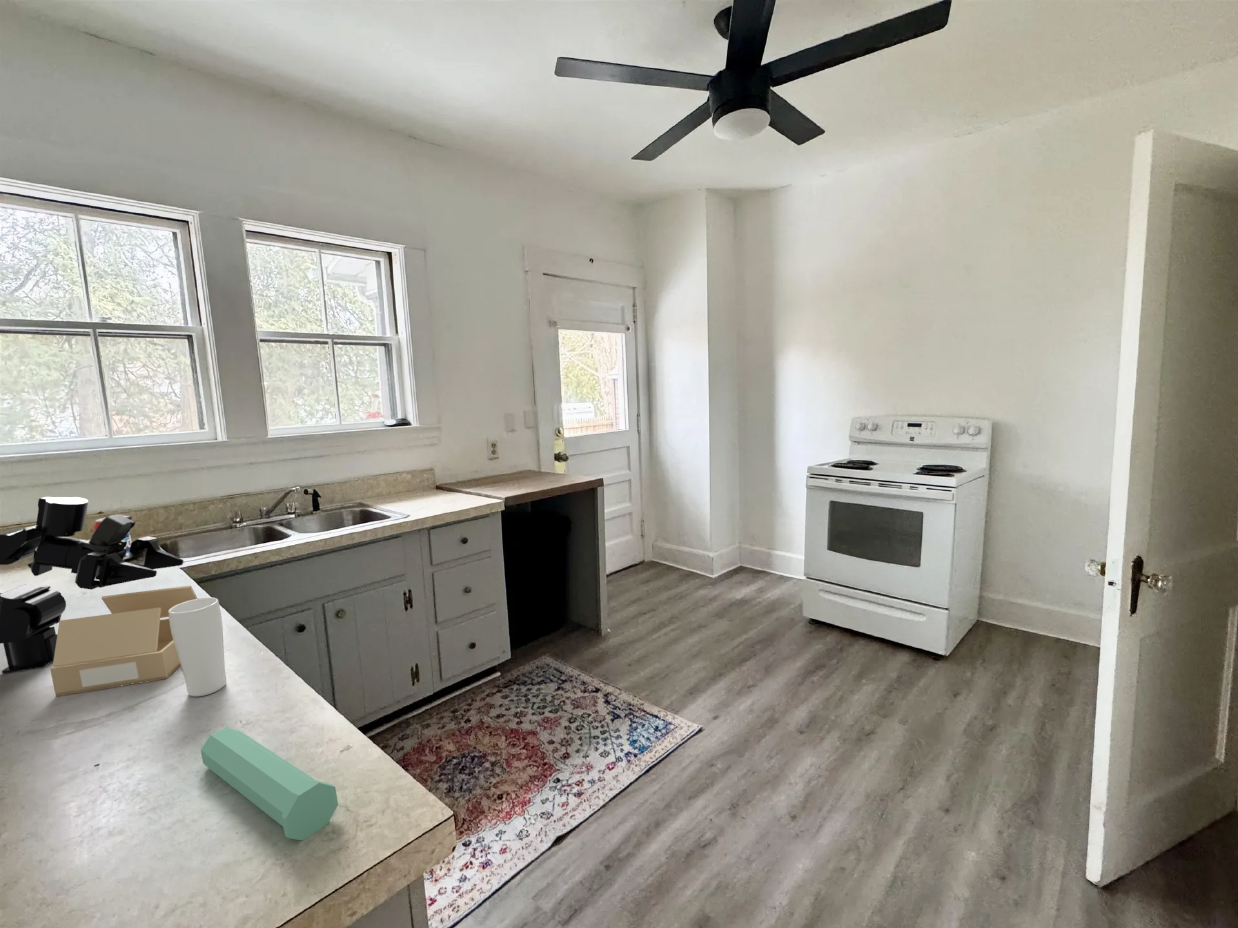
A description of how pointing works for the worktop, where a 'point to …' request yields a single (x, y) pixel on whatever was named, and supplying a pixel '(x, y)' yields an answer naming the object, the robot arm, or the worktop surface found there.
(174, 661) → the carton
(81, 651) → the flap
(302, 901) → the worktop surface
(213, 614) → the drinking glass
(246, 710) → the worktop surface
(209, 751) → the green octagonal rod
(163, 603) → the flap
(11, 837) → the worktop surface
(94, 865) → the worktop surface
